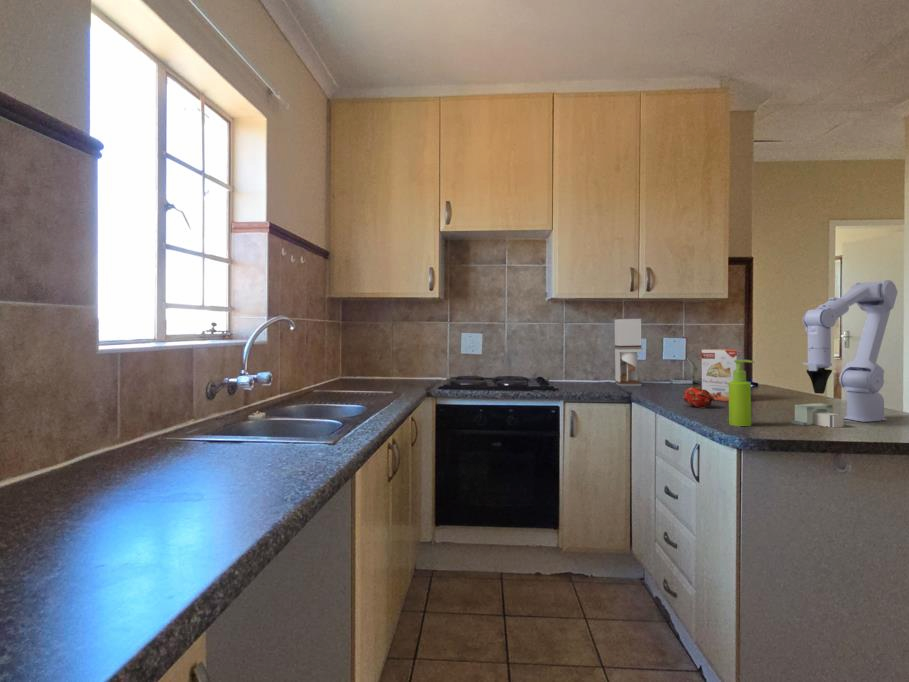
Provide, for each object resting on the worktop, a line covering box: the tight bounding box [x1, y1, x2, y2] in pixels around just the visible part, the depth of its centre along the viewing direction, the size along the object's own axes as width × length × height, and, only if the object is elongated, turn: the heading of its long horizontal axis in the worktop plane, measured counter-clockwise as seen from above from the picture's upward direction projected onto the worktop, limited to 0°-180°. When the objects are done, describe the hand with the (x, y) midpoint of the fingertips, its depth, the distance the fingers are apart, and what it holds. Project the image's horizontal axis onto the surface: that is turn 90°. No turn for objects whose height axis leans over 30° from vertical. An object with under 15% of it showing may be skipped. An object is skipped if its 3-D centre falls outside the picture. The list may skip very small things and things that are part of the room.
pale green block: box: [790, 402, 833, 427], centre depth 152 cm, size 13×4×6 cm, turn 105°
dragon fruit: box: [682, 385, 715, 409], centre depth 187 cm, size 8×8×12 cm
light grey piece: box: [614, 318, 643, 387], centre depth 263 cm, size 11×11×35 cm
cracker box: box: [701, 348, 744, 402], centre depth 203 cm, size 14×6×21 cm, turn 38°
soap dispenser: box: [728, 359, 755, 427], centre depth 152 cm, size 6×7×20 cm
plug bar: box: [813, 410, 845, 428], centre depth 150 cm, size 4×10×4 cm, turn 17°
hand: (819, 393), depth 150 cm, fingers closed
